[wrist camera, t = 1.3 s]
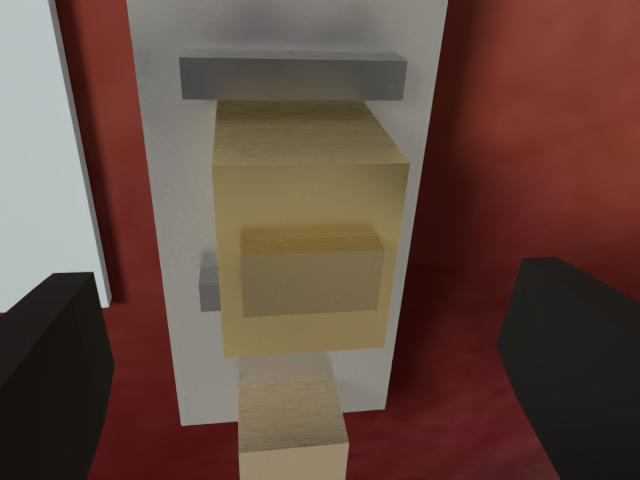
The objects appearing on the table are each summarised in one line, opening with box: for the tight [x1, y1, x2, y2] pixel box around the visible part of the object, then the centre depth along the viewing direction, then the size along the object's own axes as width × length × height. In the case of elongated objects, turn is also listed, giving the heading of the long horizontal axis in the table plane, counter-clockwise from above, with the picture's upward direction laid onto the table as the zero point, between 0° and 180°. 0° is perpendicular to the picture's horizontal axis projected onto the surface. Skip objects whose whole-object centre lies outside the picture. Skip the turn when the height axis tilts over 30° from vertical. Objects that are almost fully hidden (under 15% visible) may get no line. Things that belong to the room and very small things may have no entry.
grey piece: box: [127, 0, 448, 480], centre depth 16 cm, size 20×8×6 cm, turn 177°
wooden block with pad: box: [212, 100, 410, 358], centre depth 13 cm, size 5×4×5 cm
